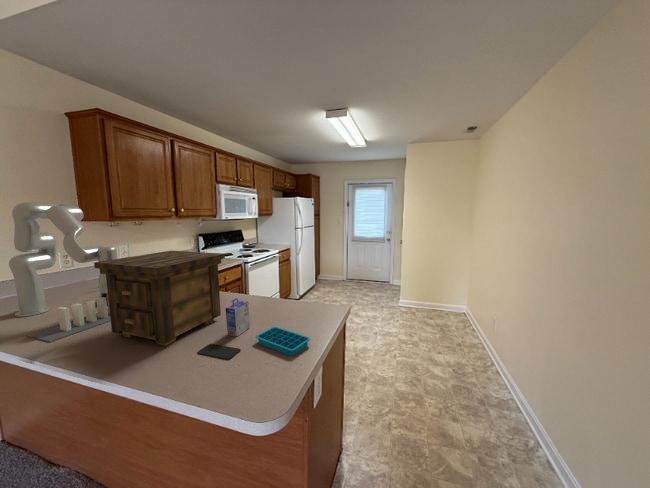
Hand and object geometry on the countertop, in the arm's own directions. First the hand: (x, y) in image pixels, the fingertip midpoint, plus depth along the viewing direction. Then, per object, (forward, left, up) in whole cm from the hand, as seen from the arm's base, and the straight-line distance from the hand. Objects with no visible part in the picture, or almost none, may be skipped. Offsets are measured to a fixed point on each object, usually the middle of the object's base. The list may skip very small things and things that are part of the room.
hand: (112, 303), depth 136 cm
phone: (+79, -13, -7) cm, 81 cm away
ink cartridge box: (+75, +4, -6) cm, 76 cm away
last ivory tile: (0, -20, -6) cm, 21 cm away
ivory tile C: (0, -15, -6) cm, 16 cm away
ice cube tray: (+99, 0, -7) cm, 100 cm away
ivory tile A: (0, -5, -6) cm, 7 cm away
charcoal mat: (0, -12, -6) cm, 14 cm away
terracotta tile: (0, 0, -6) cm, 6 cm away
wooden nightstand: (+43, -3, -6) cm, 44 cm away
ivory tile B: (0, -10, -6) cm, 11 cm away
